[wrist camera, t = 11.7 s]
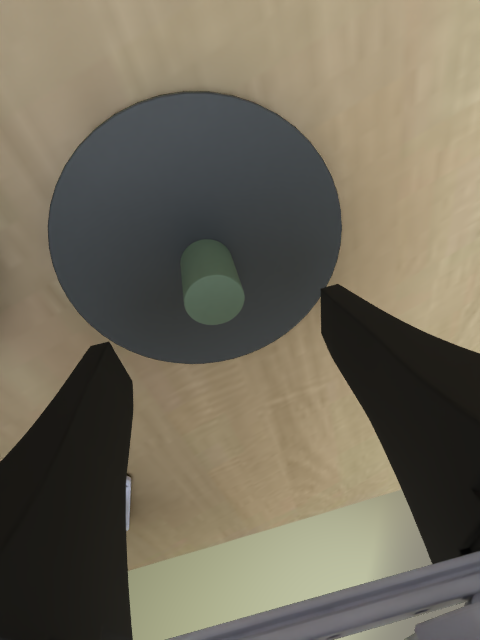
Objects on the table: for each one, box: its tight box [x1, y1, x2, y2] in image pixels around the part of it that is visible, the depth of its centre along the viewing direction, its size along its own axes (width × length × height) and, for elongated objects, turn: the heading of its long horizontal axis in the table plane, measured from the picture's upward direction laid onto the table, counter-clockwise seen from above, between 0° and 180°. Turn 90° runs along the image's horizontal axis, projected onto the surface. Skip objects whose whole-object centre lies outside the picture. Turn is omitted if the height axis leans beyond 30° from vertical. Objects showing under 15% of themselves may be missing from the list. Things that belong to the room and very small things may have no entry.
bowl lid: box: [48, 91, 342, 364], centre depth 15 cm, size 13×13×4 cm
